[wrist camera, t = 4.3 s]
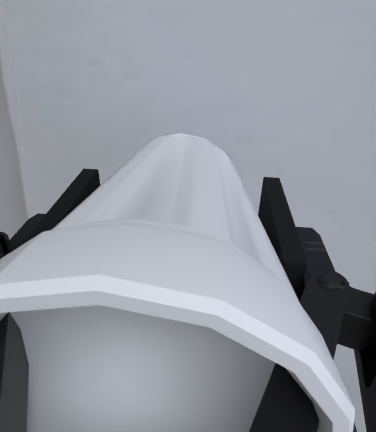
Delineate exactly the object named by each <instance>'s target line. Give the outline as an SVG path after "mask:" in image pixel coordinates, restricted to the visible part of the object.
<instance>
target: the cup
mask: <svg viewBox="0 0 376 432" xmlns="http://www.w3.org/2000/svg"><path fill="white" fill-rule="evenodd" d="M8 312H10V314H11V315H12V317H13V318H14V320H15V322H16V323H17V325H18V326H19V328H20V329H21V334H22V338H23V342H24V346H25V351H26V355H27V359H28V363H29V377H28V407H27V432H249V430H250V428H251V425H252V423H253V420H254V417H255V415H256V412H257V410H258V407H259V405H260V402H261V399H262V397H263V394H264V392H265V389H266V386H267V384H268V381H269V379H270V376H271V374H272V371H273V368H274V366H275V363H277V364H279V365H281V366H283V367H285V368H286V369H287V370H288V372H289V373H290V374H291V375H292V377H293V378H294V379H295V380H296V382H297V383H298V384H299V385H300V387H301V388H302V389H303V391H304V392H305V393H306V394H307V396H308V397H309V398H310V399H311V401H312V402H313V404H314V407H315V410H316V413H317V416H318V418H319V425H318V429H317V432H353V428H354V418H355V408H354V406H353V404H352V402H351V399H350V397H349V395H348V393H347V390H346V388H345V386H344V384H343V381H342V379H341V377H340V375H339V373H338V370H337V368H336V366H335V364H334V361H333V359H332V357H331V355H330V352H329V350H328V348H327V346H326V343H325V341H324V339H323V337H322V335H321V333H320V332H319V330H318V329H317V327H316V326H315V325H314V323H313V322H312V320H311V319H310V317H309V316H308V314H307V313H306V312H305V310H304V309H303V307H302V306H301V304H300V302H299V300H298V298H297V296H296V294H295V292H294V290H293V288H292V286H291V284H290V281H289V279H288V277H287V275H286V273H285V271H284V269H283V267H282V265H281V263H280V261H279V258H278V256H277V254H276V252H275V250H274V248H273V246H272V244H271V242H270V240H269V238H268V235H267V233H266V231H265V229H264V227H263V225H262V223H261V221H260V219H259V217H258V215H257V212H256V210H255V208H254V206H253V204H252V202H251V200H250V198H249V196H248V194H247V191H246V189H245V187H244V185H243V183H242V181H241V179H240V177H239V175H238V173H237V171H236V169H235V167H234V166H233V164H232V163H231V161H230V160H229V158H228V157H227V155H226V153H225V152H223V151H222V150H221V149H219V148H218V147H216V146H215V145H214V144H212V143H211V142H209V141H208V140H206V139H205V138H201V137H196V136H191V135H187V134H182V133H179V134H172V135H166V136H160V137H156V138H154V139H153V140H151V141H149V142H148V143H146V144H145V145H143V146H142V147H141V148H139V149H138V150H137V151H136V152H135V154H134V155H133V157H132V158H130V159H129V160H128V161H127V162H126V163H125V164H124V165H123V166H122V167H121V168H119V169H118V170H117V171H116V172H115V173H114V174H113V175H112V176H111V177H109V178H108V179H107V180H106V181H105V182H104V183H103V184H102V185H101V186H100V187H98V188H97V189H96V190H95V191H94V192H93V193H92V194H91V195H90V196H89V197H87V198H86V199H85V200H84V201H83V202H82V203H81V204H80V205H79V206H77V207H76V208H75V209H74V210H73V211H72V212H71V213H70V214H69V215H68V216H66V217H65V218H64V219H63V220H62V221H61V222H60V223H59V224H58V225H56V226H55V227H54V228H53V229H52V230H50V231H44V232H42V233H40V234H39V235H37V236H36V237H34V238H33V239H31V240H29V241H28V242H26V243H25V244H23V245H22V246H20V247H18V248H17V249H15V250H14V251H12V252H11V253H9V254H7V255H6V256H4V257H3V258H1V259H0V321H1V320H2V319H3V317H4V316H5V315H6V314H7V313H8Z"/></svg>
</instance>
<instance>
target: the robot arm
mask: <svg viewBox="0 0 376 432" xmlns="http://www.w3.org/2000/svg"><path fill="white" fill-rule="evenodd" d="M98 187H100V180H99V172H98V169H83V170H82V171H81V173H80V174H79V175H78V176H77V177H76V179H75V180H74V181H73V182H72V183H71V185H70V186H69V187H68V188H67V189H66V191H65V192H64V193H63V194H62V195H61V197H60V198H59V199H58V200H57V201H56V203H55V204H54V205H53V206H52V207H51V209H50V210H49V211H48V212H47V213H46V214H37V215H35V216H33V217H32V218H30V219H28V220H27V221H26V223H25V224H24V225H23V226H22V228H20V229H19V230H18V232H17V233H16V234H15V235H14V236H13V237H12V238H11V239H10V240H9V238H8V235H7V234H5V233H4V232H0V259H1V258H3V257H4V256H6V255H7V254H9V253H11V252H12V251H14V250H15V249H17V248H18V247H20V246H22V245H23V244H25V243H26V242H28V241H29V240H31V239H33V238H34V237H36V236H37V235H39V234H40V233H42V232H44V231H50V230H52V229H53V228H54V227H55V226H56V225H58V224H59V223H60V222H61V221H62V220H63V219H64V218H65V217H66V216H68V215H69V214H70V213H71V212H72V211H73V210H74V209H75V208H76V207H77V206H79V205H80V204H81V203H82V202H83V201H84V200H85V199H86V198H87V197H89V196H90V195H91V194H92V193H93V192H94V191H95V190H96V189H97V188H98ZM258 217H259V219H260V221H261V223H262V225H263V227H264V229H265V231H266V233H267V235H268V238H269V240H270V242H271V244H272V246H273V248H274V250H275V252H276V254H277V256H278V258H279V261H280V263H281V265H282V267H283V269H284V271H285V273H286V275H287V277H288V279H289V281H290V284H291V286H292V288H293V290H294V292H295V294H296V296H297V298H298V300H299V302H300V304H301V306H302V307H303V309H304V310H305V312H306V313H307V314H308V316H309V317H310V319H311V320H312V322H313V323H314V325H315V326H316V327H317V329H318V330H319V332H320V333H321V335H322V337H323V339H324V341H325V343H326V346H327V348H328V350H329V352H330V355H331V357H332V359H334V354H335V350H336V346H337V344H340V345H343V346H346V347H349V348H352V349H354V353H355V359H356V366H357V372H358V378H359V385H360V391H361V398H362V404H363V411H364V417H365V424H366V430H367V432H376V292H375V294H371V293H368V292H364V291H361V290H357V289H355V288H352V287H350V286H349V283H348V281H347V280H346V278H345V277H343V276H342V275H341V274H339V273H337V272H335V270H334V267H333V265H332V263H331V260H330V258H329V256H328V253H327V251H326V248H325V246H324V244H323V241H322V239H321V237H320V235H319V234H318V233H317V232H316V231H315V230H314V229H313V228H305V227H295V224H294V221H293V218H292V215H291V212H290V209H289V206H288V203H287V200H286V197H285V194H284V191H283V188H282V185H281V182H280V179H279V178H271V177H264V178H263V185H262V192H261V199H260V206H259V213H258ZM28 377H29V363H28V359H27V355H26V351H25V346H24V342H23V338H22V334H21V329H20V328H19V326H18V325H17V323H16V322H15V320H14V318H13V317H12V315H11V314H10V312H8V313H7V314H6V315H5V316H4V317H3V319H2V320H1V321H0V432H27V407H28ZM318 425H319V418H318V416H317V413H316V410H315V407H314V404H313V402H312V401H311V399H310V398H309V397H308V396H307V394H306V393H305V392H304V391H303V389H302V388H301V387H300V385H299V384H298V383H297V382H296V380H295V379H294V378H293V377H292V375H291V374H290V373H289V372H288V370H287V369H286V368H285V367H283V366H281V365H279V364H277V363H275V366H274V368H273V371H272V374H271V376H270V379H269V381H268V384H267V386H266V389H265V392H264V394H263V397H262V399H261V402H260V405H259V407H258V410H257V412H256V415H255V417H254V420H253V423H252V425H251V428H250V430H249V432H317V429H318Z"/></svg>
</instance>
